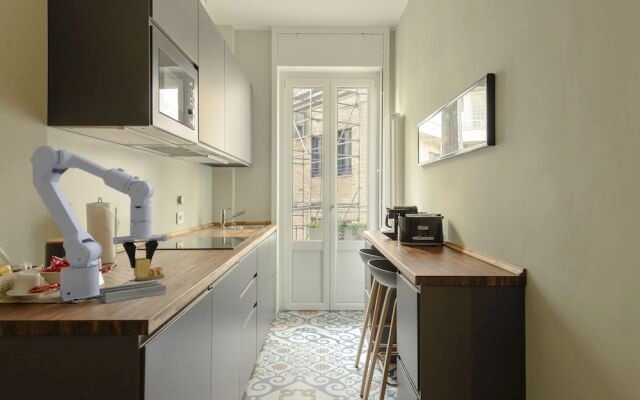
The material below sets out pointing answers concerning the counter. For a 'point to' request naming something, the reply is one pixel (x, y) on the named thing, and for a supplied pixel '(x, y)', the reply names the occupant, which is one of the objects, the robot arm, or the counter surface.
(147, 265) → the yellow block with ridge
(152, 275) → the pastry
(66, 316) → the counter surface
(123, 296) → the rail
